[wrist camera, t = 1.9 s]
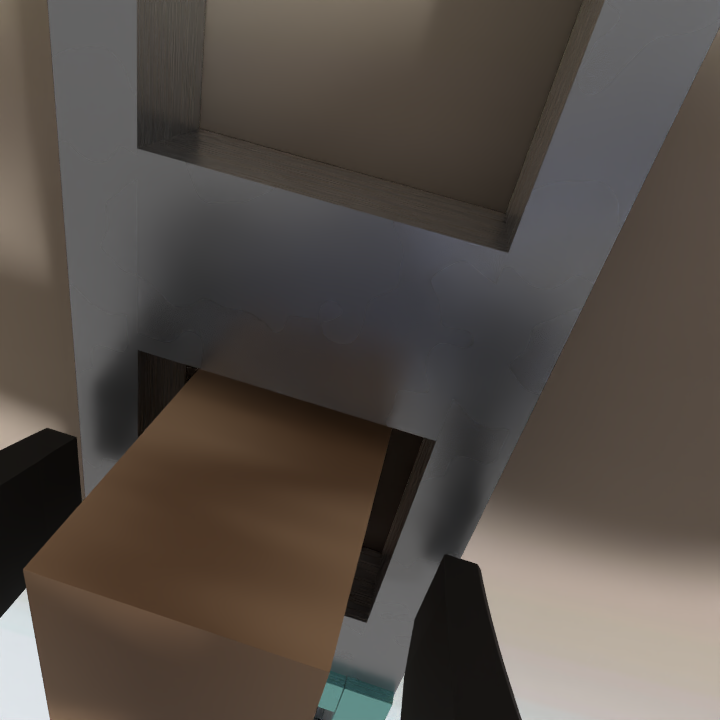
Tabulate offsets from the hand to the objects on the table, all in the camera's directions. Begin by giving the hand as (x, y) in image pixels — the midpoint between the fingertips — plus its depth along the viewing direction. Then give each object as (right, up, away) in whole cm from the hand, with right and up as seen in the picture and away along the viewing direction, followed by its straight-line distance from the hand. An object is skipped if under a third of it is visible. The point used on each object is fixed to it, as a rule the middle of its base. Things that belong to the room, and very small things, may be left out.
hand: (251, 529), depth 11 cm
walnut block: (+1, +1, +2) cm, 3 cm away
